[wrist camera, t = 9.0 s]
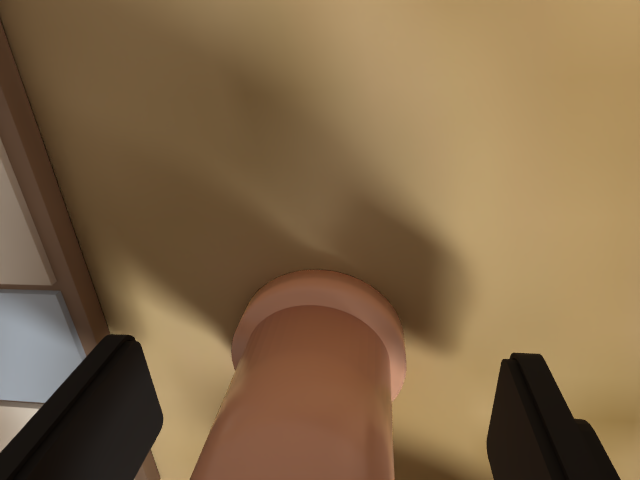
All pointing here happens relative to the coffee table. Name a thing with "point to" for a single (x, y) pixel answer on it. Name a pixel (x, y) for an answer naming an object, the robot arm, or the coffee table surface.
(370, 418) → the pawn
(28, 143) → the board
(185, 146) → the coffee table surface
